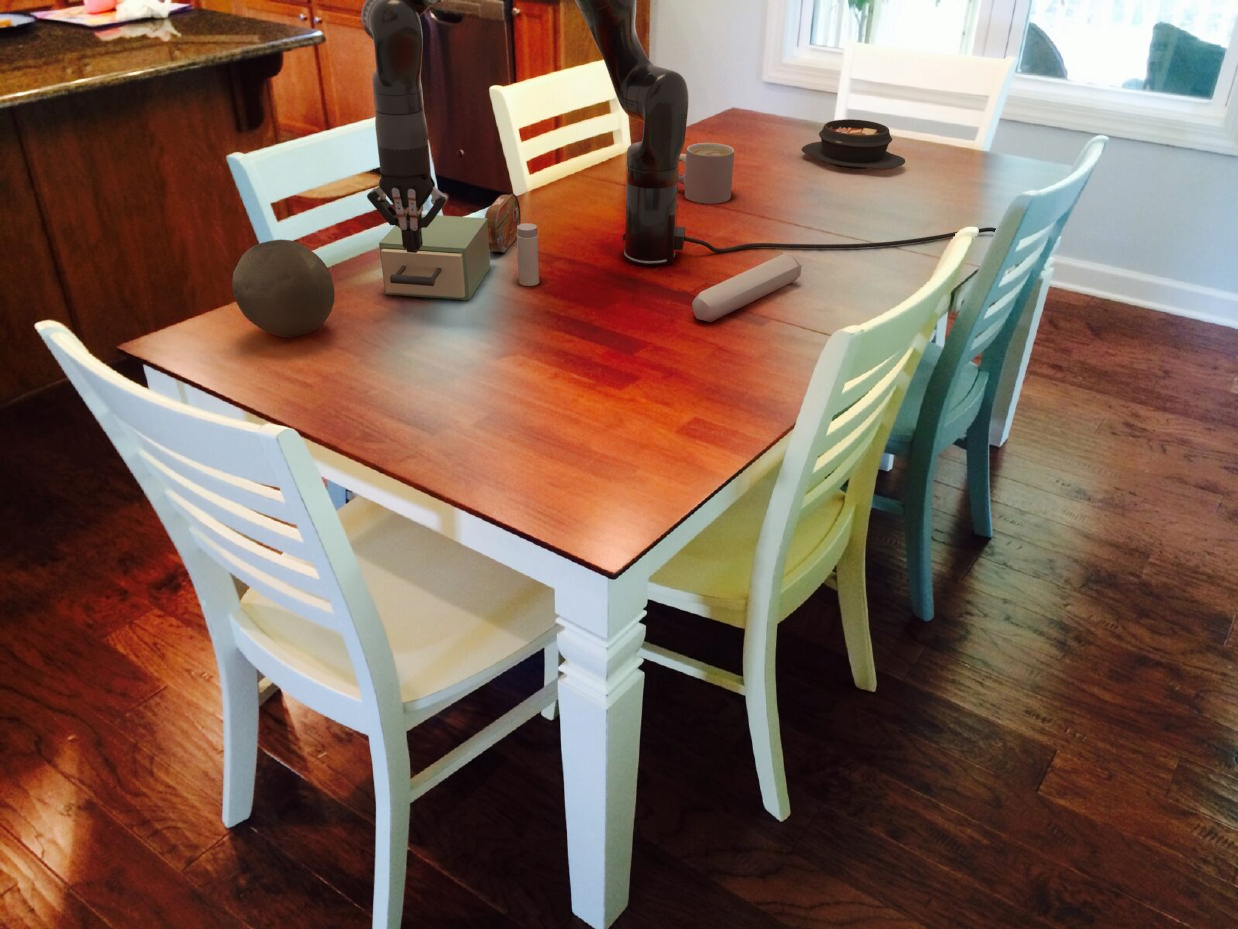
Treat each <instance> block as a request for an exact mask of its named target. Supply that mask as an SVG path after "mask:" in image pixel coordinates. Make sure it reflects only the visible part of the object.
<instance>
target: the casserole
mask: <svg viewBox="0 0 1238 929" xmlns="http://www.w3.org/2000/svg"><path fill="white" fill-rule="evenodd" d="M818 136H819V138H820V141H815V142H811V143H807V144H805V145H804V146H802V147H801V149H800V150H801V152H803V153H804V154H806V155H809V156H812V157H815V158H816V159H817V160H820V161H822V162H825V163H827V164H829V165H831V166H834V167H837V168H841V169H845V170H867V169H870V170H881V171H885V170H892V169H896V168H899V167H902V166H903V165H905V163H906V159H905V158H904V157H902V156H900V155H897V154H894V153H891V152H889V151H887V150H888V148H889V145H890V143H892V141H893V137H892V135H891V132H890V128H889V127H888V126H886V125H884V124H881V123H879V122H875V121H870V120H865V119H864V120H863V119H851V118H850V119H849V118H848V119H836V120H831V121H830V120H829V121H827V122H826V123H824V125H823V126H822V129H821V130H820V131H819V132H818Z"/></svg>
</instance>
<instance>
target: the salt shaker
mask: <svg viewBox="0 0 1238 929" xmlns="http://www.w3.org/2000/svg"><path fill="white" fill-rule="evenodd" d="M516 246H517V247H516V250H517V273H518V274H517V276H518V283H519V285H521V286H524V287H532V286H533V287H534V286H537V285H539V283H540V256H539V254H540V253H539V251H540V250H539V233H538V225H536V224H535V223H530V222H528V223H527V222H526V223H524V222H523V223H520V225H518V226H517V238H516Z"/></svg>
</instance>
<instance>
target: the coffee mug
mask: <svg viewBox="0 0 1238 929" xmlns="http://www.w3.org/2000/svg"><path fill="white" fill-rule="evenodd" d="M734 159H735V149H734V148H733V147H732V146H730V145H728V144H724V143H718V142H699V143H692V144H689V146H687V147H686V153H681V154H680V158H679V162H682V163H683V165H684V171H683V172H684V173H683V174H680V173H679V174H678V184H681V185H683V187H684V194H683V195H684V197H685V199H686V200H688V201H691V202H693V203H698V204H704V205H705V204H707V205H713V204H723V203H726V202H728V201H730V200H731V198H732V185H733V172H734Z"/></svg>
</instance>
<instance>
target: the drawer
mask: <svg viewBox="0 0 1238 929" xmlns="http://www.w3.org/2000/svg"><path fill="white" fill-rule="evenodd" d="M381 257H382V264H381V266H382V265H383V272H382V275H383V274H384V280H383V283H384V282H385V288H384V291H385V290H386V292H387V293H402V294H416V295H430V296H444V297H459V298H464V296H465V283H464V270H463V256H462V254H461V253H459V252H443V251H428V250H419V251H418V252H417V253H409V252H407V249H397V248H390V249H382V250H381V255H380V258H381Z"/></svg>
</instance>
